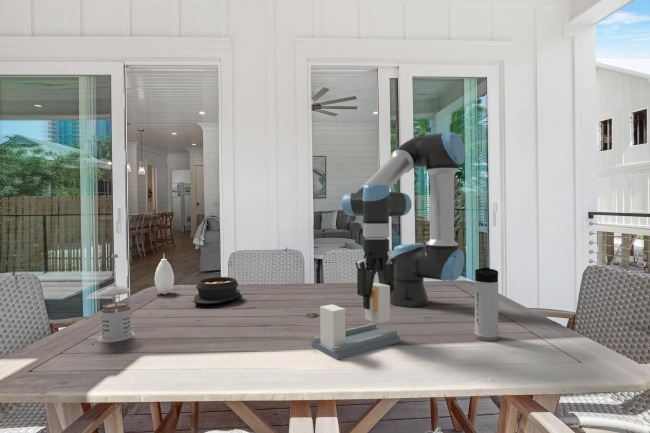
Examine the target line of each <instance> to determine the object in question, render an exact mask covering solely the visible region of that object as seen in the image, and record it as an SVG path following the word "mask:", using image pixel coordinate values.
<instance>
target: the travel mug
mask: <svg viewBox="0 0 650 433" xmlns="http://www.w3.org/2000/svg"><path fill="white" fill-rule="evenodd" d="M474 272H475V274H474V278H475V279H474V337H475V338H476V339H477V340H481V341H485V342H494V341H497V340H498V339H499V270H498V269H497V270H496V269H493V268H490V267H488V266H487V267H483V266H482V268H477V269H475V271H474Z"/></svg>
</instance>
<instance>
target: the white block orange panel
mask: <svg viewBox="0 0 650 433" xmlns="http://www.w3.org/2000/svg"><path fill="white" fill-rule="evenodd" d="M371 297H372V298H373V322H374V321H375V322H377V323H384V322H387V321H391V303H390V285H385V284H381V283H379V282H377V281H375V282H374V281H373V287H372V293H371Z"/></svg>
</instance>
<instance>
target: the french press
mask: <svg viewBox="0 0 650 433" xmlns="http://www.w3.org/2000/svg"><path fill="white" fill-rule="evenodd" d="M110 258H111V259H114V261H113V262H114V268H116V259H118V258H119V255H118V254H117V253H112V254H111V256H110ZM116 274H117V273H116V271H114V285H113V286H108V287H106V288H104V289H103V290H102V291H100V292H99V293H100V295H102V296H105V297H109V296H110V297H111V296H112V302H108V303H105V304H103V305H102V308H103V309H102V310H100V317H101V318H100V320H101V323H100V324H101V335H100V337H99V338H98V341H99V342H102V343H114V342H115V343H118V342H120V341H125V340H128V339H131V338H133V337H134V336H135V335H136V334H135V332H134V331H133V330H132V313H131V312H132V308H131V307H130V306H129V305H130V302H128V301H121V300H120V299H121V298H120V296H122V295H125V294H129V293H130V292H131V288H129V287H127V286H124V285H117V282H116V279H117V278H116ZM117 299H118V301H117ZM114 300H115V301H114ZM116 310H117V312H116Z"/></svg>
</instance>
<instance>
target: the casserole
mask: <svg viewBox="0 0 650 433" xmlns="http://www.w3.org/2000/svg"><path fill="white" fill-rule="evenodd" d="M237 281H238V280H237V279H236V278H234V277H229V276H215V277H207V278H203V279H200V280H198V282H197V285H195V288H196V289H197V292H198V294H196V295H194V297H193V301H192V302H193V303H195V304H203V305H212V304H213V305H214V304H223V303H227V302H230V301H232V300H234V299H235V300H236V299H237V298H239V297H240V296H241V295H242V294H241V290H240V289H237V288H238V286H239V282H237Z"/></svg>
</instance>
